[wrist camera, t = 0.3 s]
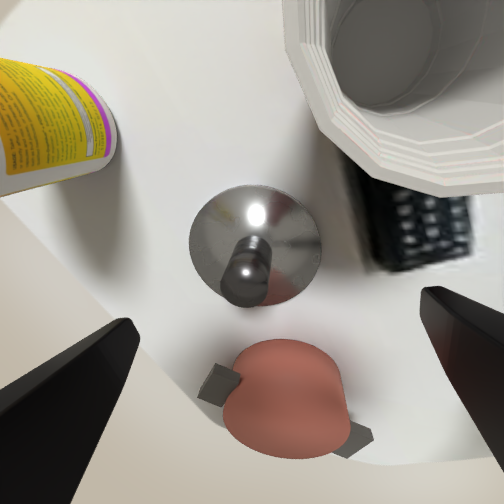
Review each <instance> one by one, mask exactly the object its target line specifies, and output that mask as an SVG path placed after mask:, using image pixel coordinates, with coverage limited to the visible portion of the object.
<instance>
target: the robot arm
mask: <svg viewBox="0 0 504 504" xmlns="http://www.w3.org/2000/svg"><path fill="white" fill-rule="evenodd" d="M420 318H421V320H422V323H423V325H424V327H425V329H426V332H427V334H428V336H429V338H430V341H431V343H432V345H433V347H434V349H435V352H436V354H437V356H438V358H439V360H440V363H441V365H442V367H443V369H444V371H445V373H446V375H447V377H448V379H449V380H450V382H451V384H452V386H453V387H454V389H455V391H456V393H457V394H458V396H459V398H460V399H461V401H462V403H463V404H464V406H465V408H466V409H467V411H468V413H469V415H470V416H471V418H472V420H473V421H474V423H475V425H476V426H477V428H478V430H479V431H480V433H481V435H482V436H483V438H484V440H485V442H486V443H487V445H488V447H489V448H490V450H491V452H492V453H493V455H494V457H495V458H496V460H497V462H498V464H499V465H500V467H501V469H502V470H503V472H504V314H503V313H501V312H499V311H496V310H494V309H492V308H489V307H487V306H485V305H483V304H480V303H478V302H476V301H474V300H471V299H469V298H467V297H465V296H462V295H460V294H458V293H456V292H453V291H451V290H449V289H446V288H444V287H442V286H432V287H424V288H423V289H422V291H421V299H420ZM139 343H140V335H139V333H138V331H137V329H136V327H135V326H134V324H133V322H132V320H131V319H130V318H118V319H115V320H113V321H112V322H110V323H109V324H107V325H105V326H104V327H102V328H101V329H99V330H97V331H96V332H94V333H92V334H91V335H89V336H87V337H86V338H84V339H82V340H81V341H79V342H77V343H76V344H74V345H73V346H71V347H69V348H68V349H66V350H65V351H63V352H61V353H59V354H58V355H56V356H55V357H53V358H51V359H50V360H48V361H46V362H45V363H43V364H41V365H40V366H38V367H37V368H35V369H33V370H32V371H30V372H28V373H27V374H25V375H23V376H22V377H20V378H19V379H17V380H15V381H14V382H12V383H10V384H9V385H7V386H5V387H4V388H2V389H1V390H0V504H70V503H71V501H72V499H73V497H74V495H75V492H76V490H77V488H78V486H79V484H80V481H81V479H82V477H83V475H84V473H85V471H86V468H87V466H88V464H89V462H90V460H91V457H92V455H93V453H94V451H95V448H96V447H97V444H98V442H99V440H100V438H101V435H102V433H103V431H104V429H105V427H106V424H107V422H108V420H109V418H110V416H111V414H112V411H113V409H114V407H115V405H116V403H117V400H118V398H119V396H120V394H121V392H122V389H123V387H124V384H125V382H126V379H127V377H128V373H129V371H130V368H131V365H132V363H133V360H134V357H135V354H136V351H137V349H138V346H139Z"/></svg>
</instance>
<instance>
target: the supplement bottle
mask: <svg viewBox="0 0 504 504" xmlns="http://www.w3.org/2000/svg"><path fill="white" fill-rule="evenodd" d="M116 143H117V133H116V127H115V123H114V120H113V117H112V114H111V112H110V110H109V108H108V106H107V104H106V103H105V101H104V100H103V98H102V97H101V96H100V95H99V93H98V92H97V91H96V90H95V89H94V88H93V87H92V86H91V85H89V84H88V83H87V82H85V81H84V80H82V79H81V78H79V77H77V76H75V75H73V74H71V73H68V72H64V71H60V70H56V69H52V68H47V67H42V66H37V65H32V64H28V63H23V62H18V61H13V60H8V59H3V58H0V197H4V196H7V195H11V194H14V193H18V192H22V191H26V190H29V189H33V188H37V187H41V186H45V185H48V184H52V183H56V182H60V181H64V180H67V179H71V178H75V177H79V176H82V175H86V174H90V173H93V172H96V171H98V170H100V169H102V168H104V167H105V166H106V165H107V164H108V163H109V162H110V160H111V159H112V157H113V155H114V152H115V149H116Z"/></svg>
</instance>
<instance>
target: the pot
mask: <svg viewBox="0 0 504 504" xmlns="http://www.w3.org/2000/svg"><path fill="white" fill-rule="evenodd" d="M197 398H199V399H202V400H204V401H207V402H209V403H212V404H214V405H217V406H219V407H222V406H223V405H224V403H225V406H224V410H223V420H224V423H225V426H226V427H227V429H228V431H229V432H230V433H231V434H232V435H233V436H234V437H235V438H236V439H237V440H238V441H239V442H241V443H242V444H244V445H246V446H247V447H249V448H251V449H253V450H255V451H258V452H260V453H263V454H266V455H270V456H274V457H280V458H287V459H307V458H314V457H319V456H323V455H326V454H329V453H331V452H332V453H334V454H336V455H339V456H341V457H344V458H346V459H347V458H349V457H350V456H352V455H353V454H354V453H356V452H357V451H359V450H360V449H362V448H363V447H365V446H366V445H368V444H369V443H370V442H372V441H373V440H374V439H373V435H372V432H371V429H369V428H367V427H365V426H362V425H360V424H358V423H355V422H353V421H350V420H349V415H348V410H347V405H346V400H345V396H344V391H343V386H342V381H341V376H340V371H339V369H338V367H337V365H336V363H335V362H334V361H333V360H332V358H331V357H330V356H328V355H327V354H326V353H325V352H323V351H322V350H320V349H318V348H316V347H315V346H312V345H310V344H307V343H304V342H300V341H295V340H288V339H274V340H267V341H262V342H259V343H256V344H254V345H252V346H250V347H248V348H247V349H245V350H244V351H243V352H242V353H240V355H239V356H238V357H237V359H236V361H235V363H234V366H233V370H230V369H228V368H226V367H223V366H221V365H219V364H216V363H215V365H214V367H213V368H212V370H211V372H210V373H209V375H208V377H207V378H206V380H205V382H204V383H203V385H202V386H201V388H200V391H199V394H198V397H197Z"/></svg>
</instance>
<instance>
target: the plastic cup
mask: <svg viewBox="0 0 504 504" xmlns="http://www.w3.org/2000/svg"><path fill="white" fill-rule="evenodd" d="M282 7H283V22H284V37H285V50H286V53H287V55H288V57H289V60H290V62H291V64H292V67H293V69H294V71H295V74H296V76H297V78H298V81H299V83H300V85H301V88H302V90H303V92H304V95H305V97H306V99H307V102H308V104H309V106H310V109H311V111H312V113H313V116H314V118H315V120H316V123H317V125H318V127H319V130H320V131H321V132H322V133H323V134H325V135H326V136H327V137H328V138H329V139H330V140H331V141H332V142H333V143H335V144H336V145H337V146H338V147H339V148H340V149H341V150H342V151H343V152H344V153H346V154H347V155H348V156H349V157H350V158H351V159H352V160H353V161H354V162H356V163H357V164H358V165H359V166H360V167H361V168H362V169H363V170H364V171H366V172H367V173H368V174H369V175H370V176H371V177H372V178H376V179H379V180H382V181H386V182H389V183H393V184H396V185H399V186H403V187H406V188H409V189H413V190H416V191H420V192H423V193H426V194H430V195H433V196H437V197H440V198H441V197H454V196H466V195H479V194H492V193H504V0H282Z"/></svg>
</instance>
